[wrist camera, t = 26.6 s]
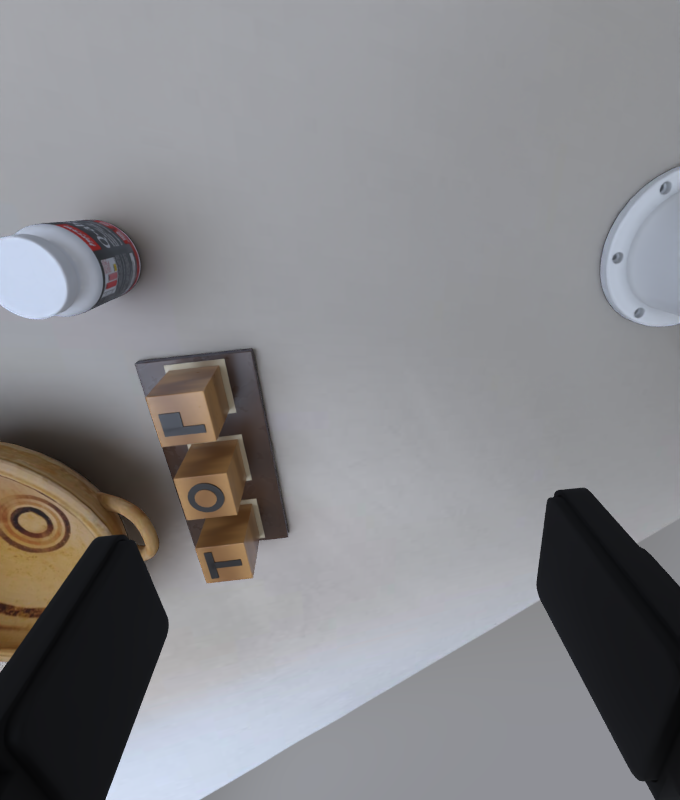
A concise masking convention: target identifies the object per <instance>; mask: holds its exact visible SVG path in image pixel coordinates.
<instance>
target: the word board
mask: <svg viewBox="0 0 680 800" xmlns="http://www.w3.org/2000/svg"><path fill="white" fill-rule="evenodd" d="M217 365H219V367H220V372H221V376H222V380H223V384H224V389H225V393H226V397H227V401H228V405H229V413H228V415H227V417H226V420H225V422H224V425H223V427H222V429H221V432H220V434H219V437H218V439H217V441H226V440H235V439H238V442H239V446H240V450H241V455H242V459H243V463H244V467H245V472H246V476H247V478H246V482H245V486H244V490H243V494H242V498H241V502H240V505H244V504H252V505H253V509H254V513H255V518H256V522H257V526H258V530H259V534H260V539H259V540H268V539H277V538H286V537H288V533H289V532H288V527H287V522H286V517H285V512H284V507H283V501H282V496H281V491H280V486H279V481H278V476H277V471H276V466H275V461H274V456H273V451H272V446H271V441H270V435H269V430H268V425H267V420H266V415H265V410H264V405H263V400H262V395H261V390H260V385H259V380H258V374H257V369H256V364H255V359H254V354H253V349H243V350H234V351H224V352H215V353H206V354H197V355H188V356H179V357H170V358H161V359H152V360H143V361H138V362H137V363H136V364H135V366H136V369H137V372H138V375H139V378H140V381H141V384H142V387H143V391H144V394H145V397H146V396H147V395H148V394H149V393H150V391H151V390H152V389H153V388H154V387H155V386H156V385H157V383H158V382H159V381H160V380H161V379H162V378H163V377H164V375H165V374H166V373H167V372H168V371H171V370H180V369H189V368H198V367H207V366H217ZM217 441H213V442H217ZM204 443H208V442H204ZM195 444H199V443H195ZM190 446H191V444H186V445H177V446H168V447H162V448H163V451H164V454H165V457H166V460H167V463H168V467H169V470H170V473H171V476H172V479H173V482H174V477H175V475H176V473H177V471H178V469H179V467H180V465H181V463H182V462H183V460H184V458H185V456H186V454H187V452H188V450H189V448H190ZM174 485H175V482H174ZM175 488H176V485H175ZM176 491H177V488H176ZM177 494H178V492H177ZM178 497H179V495H178ZM179 500H180V498H179ZM180 503H181V501H180ZM181 506H182V504H181ZM182 509H183V507H182ZM183 512H184V510H183ZM184 515H185V513H184ZM185 518H186V516H185ZM205 519H206V518H204V519H196V520H187V519H186V521H187V524H188V527H189V530H190V533H191V536H192V540H193V543H194V546H195V548H196V545H197V542H198V539H199V536H200V534H201V531H202V528H203V525H204V522H205Z"/></svg>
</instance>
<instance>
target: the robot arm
mask: <svg viewBox="0 0 680 800" xmlns="http://www.w3.org/2000/svg"><path fill="white" fill-rule="evenodd" d="M600 277H601V283H602V288H603V291H604V294H605V296H606V298H607V301H608V302H609V303H610V305H611V306H612V307H613V309H614V310H615V311H616V312H618V313H619V314H620V315H621V316H623V317H624V318H627V319H629V320H631V321H633V322H636V323H639V324H642V325H646V326H654V327H664V326H673V325H676V324H680V166H679V167H676V168H673V169H671V170H669V171H667V172H665V173H664V174H662V175H660V176H658V177H656V178H655V179H654V180H652V181H651V182H650V183H648V184H647V185H645V186H644V187H643V188H642V189H641V190H640V191H639V192H638V193H637V194H636V195H635V196H634V197H633V198H632V199H631V200H630V201H629V202H628V203H627V205H626V206H625V207H624V208H623V210H622V211H621V212H620V214H619V215H618V217H617V219H616V220H615V222H614V224H613V226H612V227H611V229H610V231H609V234H608V237H607V239H606V242H605V244H604V248H603V253H602V257H601V268H600ZM537 591H538V595H539V598H540V600H541V602H542V604H543V606H544V608H545V609H546V611H547V613H548V615H549V617H550V619H551V621H552V623H553V625H554V627H555V629H556V630H557V632H558V634H559V636H560V638H561V640H562V642H563V644H564V646H565V647H566V649H567V651H568V653H569V655H570V657H571V659H572V661H573V663H574V665H575V666H576V668H577V670H578V672H579V674H580V676H581V678H582V680H583V682H584V683H585V685H586V687H587V689H588V691H589V693H590V695H591V697H592V699H593V701H594V702H595V704H596V706H597V708H598V710H599V712H600V714H601V716H602V718H603V720H604V722H605V724H606V725H607V727H608V729H609V731H610V733H611V735H612V737H613V739H614V741H615V743H616V744H617V746H618V748H619V750H620V752H621V754H622V756H623V758H624V760H625V761H626V763H627V765H628V767H629V769H630V771H631V772H632V774H633V775H634V776H635V777H636V778H637V779H638V780H639V781H645V782H646V783H647V785H648V787H649V789H650V791H651V793H652V795H653V796H654V798H655V800H680V587H679V585H678V584H677V583H676V582H675V581H674V580H673V579H672V578H671V577H670V575H669V574H668V573H667V572H666V571H665V570H664V569H663V568H662V567H661V566H660V565H659V563H658V562H657V561H656V560H655V559H654V558H653V557H652V556H651V555H650V554H649V553H648V552H647V551H646V550H645V549H643V548H641V547H639V546H638V545H637V544H636V542H635V541H634V540H633V539H632V538H631V537H630V536H629V535H628V533H627V532H626V531H625V530H624V529H623V528H622V527H621V526H620V524H619V523H618V522H617V521H616V520H615V519H614V518H613V517H612V516H611V514H610V513H609V512H608V511H607V510H606V509H605V508H604V507H603V505H602V504H601V503H600V502H599V501H598V500H597V499H596V498H595V496H594V495H593V494H592V493H591V492H590V491H589V490H588V489H586V488H575V489H565V490H558V491H556V492H555V494H554V497H553V498H549V499H548V500H547V505H546V513H545V521H544V528H543V536H542V544H541V552H540V559H539V567H538V575H537ZM168 626H169V623H168V617H167V615H166V612H165V610H164V608H163V605H162V603H161V601H160V598H159V596H158V594H157V591H156V589H155V587H154V584H153V582H152V580H151V577H150V575H149V573H148V570H147V568H146V565H145V563H144V561H143V558H142V556H141V554H140V551H139V549H138V547H137V544H136V543H135V541H133V540H129V538H128V537H127V536H126V535H124V534H120V535H110V536H100V537H97V538H95V539H94V540H93V541H92V542H91V544H90V545H89V546H88V548H87V549H86V551H85V552H84V554H83V555H82V557H81V558H80V559H79V561H78V562H77V564H76V565H75V567H74V568H73V569H72V571H71V572H70V574H69V575H68V577H67V578H66V579H65V581H64V582H63V584H62V585H61V587H60V588H59V589H58V591H57V592H56V594H55V595H54V597H53V598H52V599H51V601H50V602H49V604H48V605H47V607H46V608H45V609H44V611H43V612H42V614H41V615H40V617H39V618H38V619H37V621H36V622H35V624H34V625H33V627H32V628H31V630H30V631H29V632H28V634H27V635H26V637H25V638H24V640H23V641H22V642H21V644H20V645H19V647H18V648H17V650H16V651H15V652H14V654H13V655H12V657H11V658H10V660H9V661H8V662H7V664H6V665H5V667H4V668H3V670H2V671H1V672H0V800H105V799H106V796H107V794H108V791H109V788H110V786H111V783H112V780H113V778H114V775H115V772H116V770H117V767H118V764H119V762H120V759H121V756H122V754H123V751H124V748H125V746H126V743H127V740H128V738H129V735H130V732H131V730H132V727H133V724H134V722H135V719H136V716H137V714H138V711H139V708H140V706H141V703H142V701H143V698H144V695H145V693H146V690H147V687H148V685H149V682H150V679H151V677H152V674H153V671H154V669H155V666H156V663H157V661H158V658H159V655H160V653H161V650H162V647H163V645H164V642H165V639H166V637H167V633H168Z"/></svg>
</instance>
